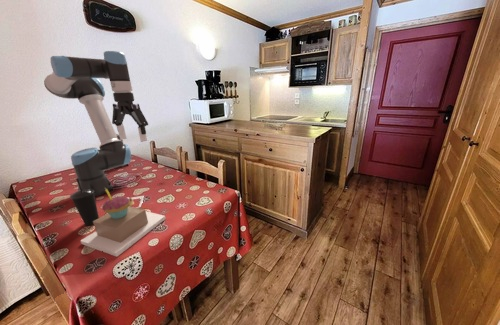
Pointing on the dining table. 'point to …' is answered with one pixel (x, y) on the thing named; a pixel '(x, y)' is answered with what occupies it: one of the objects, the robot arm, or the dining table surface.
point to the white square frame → (136, 198)
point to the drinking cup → (85, 204)
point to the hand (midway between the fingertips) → (133, 140)
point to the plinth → (125, 243)
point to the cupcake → (116, 206)
